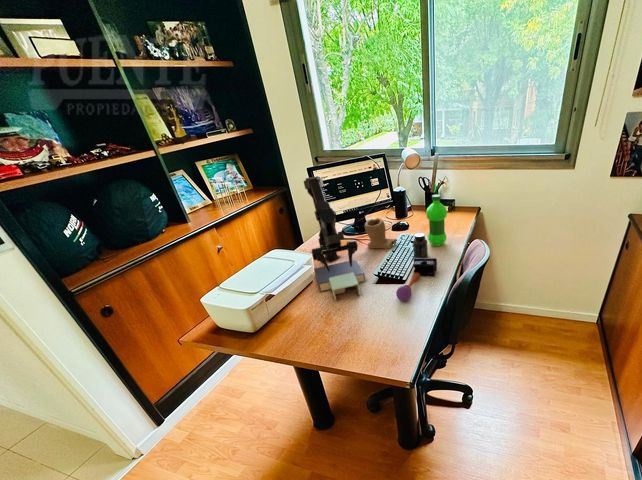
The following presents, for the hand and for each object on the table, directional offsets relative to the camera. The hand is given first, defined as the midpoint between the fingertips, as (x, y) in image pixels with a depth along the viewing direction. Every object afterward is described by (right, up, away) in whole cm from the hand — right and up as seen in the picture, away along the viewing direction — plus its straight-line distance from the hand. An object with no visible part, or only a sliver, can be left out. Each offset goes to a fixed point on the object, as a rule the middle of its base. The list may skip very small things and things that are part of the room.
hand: (340, 269), depth 133 cm
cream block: (-2, -7, +4) cm, 8 cm away
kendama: (+29, -9, +2) cm, 30 cm away
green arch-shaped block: (0, -4, +7) cm, 8 cm away
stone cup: (+14, +18, +41) cm, 47 cm away
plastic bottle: (+44, +19, +38) cm, 61 cm away
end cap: (+36, 0, +13) cm, 38 cm away
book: (-3, -2, +15) cm, 16 cm away
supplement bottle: (+35, +9, +26) cm, 44 cm away
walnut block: (+3, -6, +5) cm, 8 cm away
